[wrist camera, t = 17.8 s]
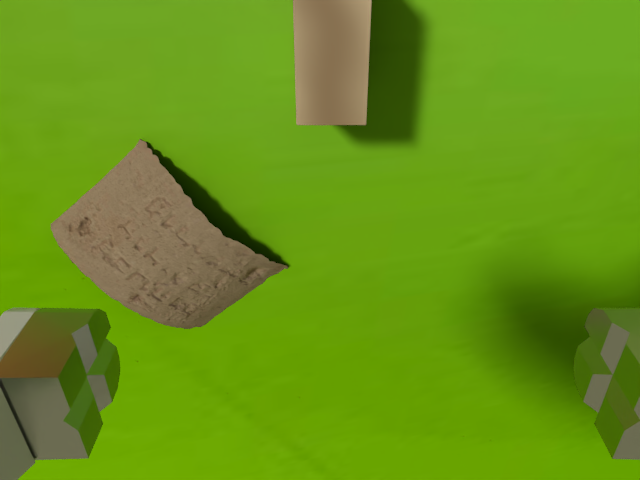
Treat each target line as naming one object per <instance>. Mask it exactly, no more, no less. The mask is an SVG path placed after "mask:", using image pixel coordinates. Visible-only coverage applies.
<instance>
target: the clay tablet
mask: <svg viewBox="0 0 640 480" xmlns="http://www.w3.org/2000/svg"><path fill="white" fill-rule="evenodd" d="M51 230H52V232H53V235H54V237H55V239H56V241H57V242H58V245H59V247H61V248H62V249H63V251H64V253H66V254H67V255H68V257H69V258H70V260H71V261H72V262H73V263H74V264H76V265H77V267H78V268H79V269H80V271H82V273H83V274H85V275H86V276H87V277H90V278H91V280H92V281H93V282H94V283H95V284H96V285H97V286H98V287H99V288H100V289H101V290H102V291H104V292H105V293H106V294H107V295H109V296H110V297H111V298H113V299H115V300H118V301H119V302H121V303H122V304H123V305H124V306H125V307H127V308H129V309H131V310H133V311H135V312H137V313H139V314H140V315H142V316H144V317H147V318H150V319H152V320H154V321H156V322H158V323H161V324H164V325H169V326H172V327H177V328H179V327H181V328H184V329H190V328H193V327H201V326H203V325H205V324H206V323H207V322H209V321H210V320H211V319H212V318H213V317H215V316H216V315H218V314H219V313H221V312H222V311H223V310H225V309H226V308H227V307H229V306H231V305H232V304H234V303H235V302H236V301H238V300H239V299H241V298H242V297H244V296H245V295H246V294H247V293H249V292H250V291H252V290H253V289H255V288H256V287H257V286H259V285H260V284H262V283H263V282H264V281H265V280H266V279H267V278H268V277H270V276H272V275H274V274H277V273H279V272H280V271H282V270H283V269H284V268H286V269H288V267H287V266H286V265H283V264H279V263H275V262H272V261H269V259H268V258H266V257H264V256H263V255H261V254H255V253H254V252H253V251H252V250H251V249H250V248H248V247H246V246H245V245H243V244H241V243H239V242H238V241H235V240H232V239H231V238H227V237H225V236H223V234H222V232H221V231H220V229H219V228H216V227H214V226H213V225H212V224H211V223H210V222H209V221H208V219H207V218H206V217H205V215H204V214H203V213H202V212H201V211H199V210H198V209H197V208H195V207H194V206H193V204H192V200H191V198H190V197H188V196H187V195H185V194H184V192H183V190H182V188H181V186H180V185H179V184H177V183H176V181H175V179H174V178H173V177H172V175H170V174H169V172H168V171H167V170H166V168H165V167H163V166H162V165H161V164H160V163H159V159H158V156H156V155H153V154H152V150H151V149H150V148H147V143H146V142H145V141H142V140H141V139H140V140H139V142H138V144H137V145H136V147H135V148H134V149H133V150H132V151H130V152H129V153H128V154H127V155H126V156H125V158H124V159H123V160H122V161H120V162H119V163H118V165H116V166H115V167H114V168H113V169H112V170H111V171H110V172H109V173H108V174H107V175H106V176H105V177H104V178H103V179H102V180H101V181H100V182H98V183H97V184H96V185H95V186H94V187H93V188H92V189H90V190H89V191H88V192H87V193H86V194H85V195H83V196H82V197H81V198H80V199H79V200H78V201H77V202H76V203H75V204H74V205H72V206H71V207H70V208H69V209H68V210H67V211H66V212H64V213H63V214H62V215H61V216H60V217H59V218H58V219H57V220H55V221H54V222H53V223H52V224H51Z"/></svg>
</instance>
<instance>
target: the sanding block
mask: <svg viewBox="0 0 640 480" xmlns="http://www.w3.org/2000/svg"><path fill="white" fill-rule="evenodd" d="M371 3H372V0H293V14H294V50H295V86H296V122H297V125H366V118H367V95H368V72H369V49H370V26H371Z"/></svg>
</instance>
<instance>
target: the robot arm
mask: <svg viewBox="0 0 640 480" xmlns="http://www.w3.org/2000/svg"><path fill="white" fill-rule="evenodd" d="M584 327H585V329H586V330H587V332H588V334H589V335H590V337H589V338H587V339H586V340H585V341H584V342H582V343H581V344H580V345H579V346H578V347H577V350H576V354H575V357H574V361H573V364H574V379H575V383H576V386H577V390H578V392H579V394H580V396H581V398H582V400H583V402H585V403H586V404H587V405H589V406H590V407H591V408H593V409H594V410H595V411H597V412H598V415H597V418H596V421H595V423H594V424H595V426H596V428H597V430H598V432H599V434H600V436H601V437H602V439H603V441H604V443H605V445H606V447H607V449H608V451H609V453H610V455H611V457H612V459H640V308H594V309H593V310H592V311H591V312H590V313H589V314H588V317H587V320H586V323H585V325H584ZM110 328H111V327H110V324H109V321H108V318H107V315H106V312H104V311H102V310H101V309H74V308H41V309H40V308H11V309H9V310H7V311H5V312H4V313H3V314H2V315H1V316H0V480H17V479H18V478H19V477H20V476H22V475H23V474H24V473H25V472H26V471H27V470H28V469H29V468H30V467H31V466H32V465H33V464H34V463H35V460H44V459H80V458H89V456H90V453H91V451H92V449H93V446H94V444H95V441H96V439H97V437H98V434H99V432H100V430H101V427H102V425H103V422H102V419H101V416H100V413H99V412H100V411H101V410H102V409H104V408H105V407H106V406H107V405H109V404H110V403H111V402H112V401H113V398H114V396H115V393H116V391H117V388H118V382H119V376H120V361H119V355H118V351H117V347H116V346H115V345H113V344H112V343H111V342H110V341H109V340H107V339H106V336H107V334H108V332H109V330H110Z"/></svg>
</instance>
